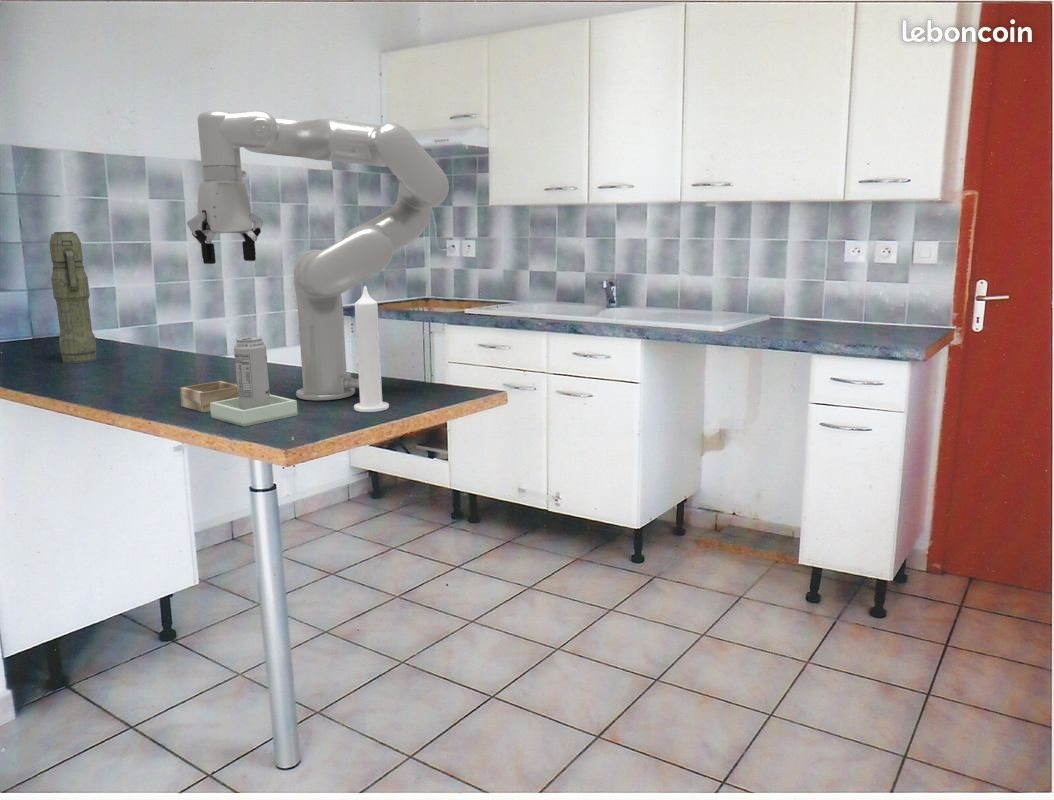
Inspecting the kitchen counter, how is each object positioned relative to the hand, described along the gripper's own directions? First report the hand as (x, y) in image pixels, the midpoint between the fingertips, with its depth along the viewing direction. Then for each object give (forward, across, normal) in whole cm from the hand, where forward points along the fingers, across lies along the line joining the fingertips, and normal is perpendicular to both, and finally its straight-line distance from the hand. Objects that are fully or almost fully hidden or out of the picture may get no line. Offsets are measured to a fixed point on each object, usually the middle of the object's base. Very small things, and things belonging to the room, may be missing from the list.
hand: (230, 262), depth 180 cm
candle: (+30, -11, +27) cm, 42 cm away
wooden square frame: (+30, +5, -3) cm, 30 cm away
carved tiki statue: (+30, -9, -85) cm, 90 cm away
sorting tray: (+30, +6, +12) cm, 33 cm away
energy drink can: (+29, +6, +12) cm, 32 cm away
